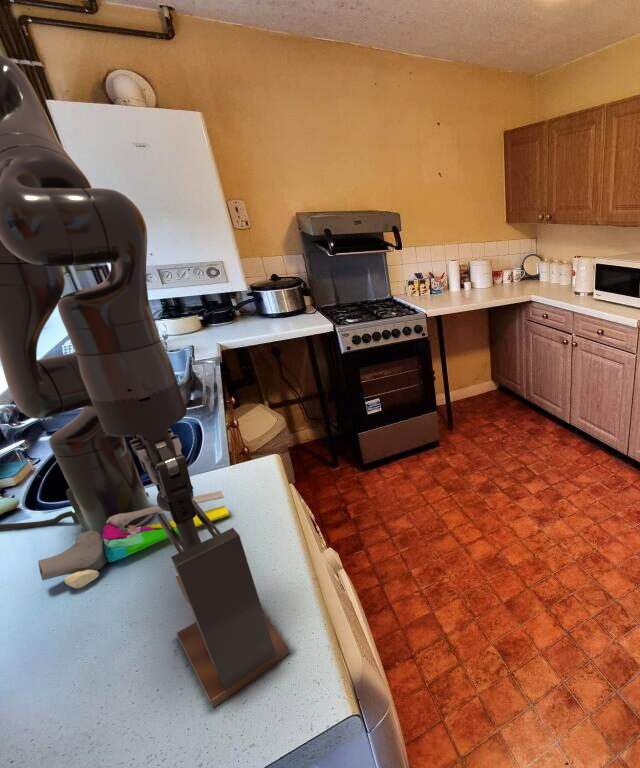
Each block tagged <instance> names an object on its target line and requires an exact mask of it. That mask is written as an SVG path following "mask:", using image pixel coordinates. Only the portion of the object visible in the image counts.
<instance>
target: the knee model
mask: <svg viewBox="0 0 640 768" xmlns="http://www.w3.org/2000/svg"><path fill="white" fill-rule="evenodd" d="M224 498H225V496H224V494H223V492H222V490H219V491H213V492H209V493H204V494H198V495H193V499H192V500H194V501H195V502H196V503H197V504H202V503H206V502H210V501H211V502H212V501H216V500H222V499H224ZM225 499H226V498H225ZM164 511H165V510H163V509H161V508H160V507H159V506H158V505H155V506H152V507H150V508H146V509H143V510H139V511H135V512H130V513H122V514H117V515H114V516H111V517H110V518H109V519H108V520H107V523H108V524H107V525H106V526H105V527H104V531H102V532H104V533H103V537H102V535H101V534H100V533H99V532H96V531H87V532H84V531H83V532H81V533H79V535H78V536H77V537H76V539H75V541H74V543H73V544H72V545H71V546H70V547H68V548H67V549H65V550H64V551H61V552H60V553H59V554H55V555H53V556H50V557H47V558H43V559H39V560H37V562H38V569H39V574H40V578H41V580H42V581H47V580H50V579H54V578H58V577H62V576H66V575H68V576H67V577H65V578H64V579H63V581H64V583H65V584H66V585H67V586H69V587H72V588H74V589H81V588H84V587H86V586H87V585H88V584H90V583H91V582H93V581H95V580H96V579H97V578H98V577H99V576H100V572H99V570H100V569H102V568H103V567H104V566H105V565H106V564H107V563H108V562H109V563H113V562H117V561H119V560H121V559H123V558H126V557H128V556H130V555H133V554H134V553H137V552H139V551H142V550H144V549H147V548H148V547H150V546H152V545H155V544H156V543H159V542H162V541H164V540H166V539H169V537H168V535H167V534H166V532H165V530H164V529H163V527H162V526H161V524H160V522H159V523H152V524H148V525H143V526H140V527H135V525H134V526H128V527H129V528H124V526H125V525H126V524H128V523H129V522H130V521H132V520H134V519H136V518H139V517H141V516H145V515H148V514H151V513H154V514H155V513H161V512H164ZM165 512H166V511H165ZM203 512H204V513H205V514H206V515H207V517H208V518H209V519H210V520H211V522H212V523H213V522H215V521H218V520H220V519H221V520H222V519H224V518H227V517H229V516H230V511H229V510H228V509H227V508H226V506H225V505H222V506H218V507H214V508H210V509H208V510H203ZM193 520H194V523H195V526H196V528H198V527H201V526H204V525H203V523H202V522H201V521H200V519H199V518H198V517H197V515H196V516H195V517H194V518H193ZM168 521H169V522H170V524H171V525H172V527H173V528H174V530H175V531H176V533H177V535H179V532H178V530H177V527H176V524H175V522H174V521H173V519H172V520H168ZM109 524H112V525H109Z"/></svg>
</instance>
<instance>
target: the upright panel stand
mask: <svg viewBox="0 0 640 768" xmlns="http://www.w3.org/2000/svg"><path fill="white" fill-rule="evenodd" d="M192 503H193V506H194V509H195V512H196V515H197V517H198V518H199V519H200V521H201V522H202V523H203V525H202V526H204V527H205V529H206V530H207V531H208V533H209V534H210V535H211V537H210V538H208V539H206V540H204V541H201V543H199V544H197V545H195V546H193V547H191V548H189V549H187V548H186V547H185V545H184V544H183V542H182V540H181V538H180V535H179V534H177V533H176V531H175V530H174V528H173V527H172V525H171V524H170V522H169V521H170V520H169V519H168V518H167V516H166V515H165V513H163V512H157V514H156V515H155V517H156V519H157V521H158V522H159V523H160V524H161V526H162V527H163V529H164V530H165V532H166V534H167V535H168V539H169V540H170V542H171V543H172V545H173V547H174V548H175V550H176V551H177V553H176V554H174V555H172V556H171V557H170V559H171V561H172V564H173V566H174V569H175V571H176V573H177V575H178V577H179V579H180V582H181V584H182V587H183V590H184V592H185V595H186V597H187V600H188V602H189V605H190V606H189V605H188V606H189V608H190V610H191V612H192V616H193V618H194V620H195V622H193V623H191V624H190V625H188V626H187V627H185V628H183V629H180V630H179V631H178V632H176V635H177V638H178V640H179V642H180V644H181V646H182V648H183V650H184V652H185V654H186V656H187V658H188V660H189V662H190V664H191V666H192V668H193V670H194V673H195V674H196V676H197V678H198V680H199V682H200V684H201V686H202V689H203V690H204V692H205V694H206V696H207V699H208V701H209V702H210V704H211V707H212V708H215V707H217V706H218V705H219V704H221V703H222V702H224V701H225V700H227V699H229V698H230V697H231V696H232V695H234V694H235V693H237V692H238V691H239V690H240V689H241V690H242V688H244V687H245V686H246V685H248V684H249V683H250V682H252V681H254V680H255V679H256V678H258V677H259V676H260V675H262V674H263V673H264V672H266V671H267V670H268V669H270V668H271V667H273V666H274V665H276V664H277V663H278V662H280V661H281V660H283V659H284V658H286V657H287V656H288V655H289V654H291V652H290V648H289V646H288V644H287V643H286V642H285V640H284V639H283V638H282V637H281V635H280V634H279V632H278V631H277V630H276V628H275V627H274V626H273V624H272V623H271V622H270V620H269V619H268V618H267V616H266V615H265V614H264V609H263V607H262V603H261V601H260V600H261V599H260V598H259V594H258V591H257V588H256V584H255V581H254V578H253V575H252V571H251V568H250V566H249V561H248V559H247V555H246V552H245V550H244V546H243V543H242V539H241V536H240V534H239V533H238V532H237V531H236V530H235V528H234V527H231V528H229V529H227V530H225V531H223V532H220V530H219V529H218V528H217V526H216V525H215V524H214V523H213V521H212V522H211V520H210V519H209V518H208V517H207V515H206V514H205V513H204V510H203V509H202V508H201V507H200V505H199V503H196V502H195V501H194V500H192Z"/></svg>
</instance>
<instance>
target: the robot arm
mask: <svg viewBox="0 0 640 768" xmlns="http://www.w3.org/2000/svg"><path fill="white" fill-rule="evenodd" d="M147 259H148V229H147V224H146V221H145V218H144V216H143V214H142V212H141V210H140V209H139V208H138V207H137V205H136V204H135V203H134V202H133V201H132V200H131V199H130V198H128V196H126V195H125V194H123V193H122V192H120V191H117V190H114V189H111V188H100V187H99V188H98V187H92V185H91V183H90V181H89V179H88V178H87V176H86V175H85V173H84V172H83V171H82V170H81V168H80V167H79V166H78V165H77V163H76V162H75V161H74V160H73V158H71V156H70V155H69V154H68V153H67V152H66V150H65V149H64V148H63V146H62V145H61V143H60V142H59V140H58V137H57V135H56V133H55V131H54V127H53V125H52V124H51V122H50V120H49V117H48V115H47V113H46V111H45V109H44V107H43V104H42V103H41V101H40V99H39V97H38V94H37V93H36V91H35V89H34V87H33V85H32V84H31V81H30V80H29V79H28V77H27V76H26V74H25V73H24V71H23V70H22V69H21V68H20V67H19V66H18V65H17V63H15V62H14V61H13V60H12V59H10V58H9V57H8V56H6V55H3V54H1V53H0V364H1V367H2V371H3V374H4V375H3V376H4V378H5V381H6V384H7V388H8V390H9V393H10V396H11V398H12V400H13V403H14V404H15V405H16V407H17V409H18V410H19V411H20V412H21V413H23V414H24V415H25V416H26V417H28V418H30V419H36V420H37V419H38V420H39V419H47V418H50V417H53V416H54V417H55V416H58V415H61V414H65V413H68V412H72V411H75V410H79V409H81V411H80V412H79V414H78V415H77V416H76V417H74V419H72V420H71V421H70V422H68V423H67V424H65V425H64V426H62V427H60V429H58V430H56V431H55V432H54V433H52V434H51V436H50V437H49V439H48V444H49V447H50V449H51V451H52V453H53V456H54V457H55V459H56V461H57V465H58V466H59V469H60V470H61V472H62V474H63V476H64V479H65V480H66V483H67V485H68V487H69V488H68V489H67V490H65V495H66V497H67V499H68V501H69V503H70V505H71V507H72V510H69V511H66V512H62V513H60V514H58V515H57V516H55V517H53V518H50V519H45V520H39V521H30V522H29V521H28V522H12V523H0V530H13V529H15V530H16V529H29V528H39V527H40V528H41V527H45V526H50V525H56V524H58V523H59V522H61V521H62V520H65V519H67V518H72V520H73V522H74V525H80V527H81V528H82V531H83V533H84V532H87V531H96V532H99V533H100V534H101V535H102V537H103V533H104V532H102V531H104V527H105V526H106V525H107V524H108V523H107V520H108V519H109V518H110V517H111V516H114V515H117V514H122V513H130V512H135V511H139V510H143V509H146V508H150V507H153V506H152V505H151V502H150V495H149V492H147V491H146V489H145V486H144V483H143V481H142V478H141V476H140V473H139V470H138V468H137V466H136V463H135V460H134V457H133V455H132V453H131V450H130V447H129V446H128V445H129V444H130V446H131V449H132V451H133V453H134V454H135V456H137V458H138V461H139V464H140V466H141V468H142V469H143V471H144V472H145V473H146V474H147V475H148V477H149V480H150V481H151V483H153V484H154V485H155V487H156V489H157V493H158V492H159V491H160V490H161V492H162V494H161V495H162V498H164V499H165V500H166V502H167V505H168V508H169V510H170V512H169V513H170V516H171V518H172V520H173V521H174V522H175V523H176V524H181V523H183V522H186V521H188V520H190V519H192V518H194V517H195V516H196V512H195V509H194V506H193V503H192V500H191V497H190V494H189V493H192V492H193V493H194V486H193V485H192V482H191V481H192V480H191V476H190V473H189V469H188V464H187V457H186V456H184V454H183V453H182V447H183V446H182V443H181V440H180V438H179V436H178V435H177V434H174V432H173V430H172V429H171V428H170V427H171V426H172V425H174V424H178V423H179V422H180V421H181V420H183V419H184V417H185V416H186V415H187V407H186V404H185V401H184V398H183V395H182V392H181V388H180V386H179V382H178V379H177V376H176V373H175V370H174V367H173V364H172V361H171V359H170V356H169V354H168V352H167V350H166V348H165V347H164V344H163V342H162V340H161V336H160V333H159V330H158V327H157V324H156V321H155V318H154V316H153V312H152V308H151V304H150V301H149V292H148V281H147ZM102 264H110V270H109V273H108V276H107V277H106V278H105V280H104V281H102V282H101V283H98V284H96V285H92V286H89V287H87V288H84V289H83V288H82V289H79V290H75V291H73V292H70V293H67V294H65V295H63V294H64V291H65V289H66V278H65V274H64V269H63V267H64V268H65V267H75V266H87V265H88V266H89V265H102ZM56 309H58V313H59V317H60V320H61V322H62V324H63V326H64V328H65V330H66V332H67V335H68V338H69V340H70V343H71V346H72V348H73V350H74V352H70V353H64V354H60V355H55V356H51V357H46V358H40V359H37V357H38V356H37V355H38V353H37V352H38V344H39V340H40V337H41V335H42V332H43V330H44V328H45V326H46V325H47V323H48V321H49V319H50V318H51V316H52V315H53V314H54V312H55V310H56ZM129 437H131V438H132V440H129V444H128V442H127V439H126V438H129ZM180 483H181V484H180ZM154 485H153V486H154ZM175 485H176V486H175ZM154 514H155V513H151V514H148V515H145V516H141V517H139V518H136V519H134V520H132V521H130V522H129V523H128V524H126V525H125V526H124V528H129V527H128V526H134V525H135V527H140V526H141V527H143V526H145V524H147V523H148V522H149V521H150V520H152V518H153V517H154ZM109 525H112V524H109Z"/></svg>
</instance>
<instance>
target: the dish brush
mask: <svg viewBox="0 0 640 768" xmlns="http://www.w3.org/2000/svg"><path fill="white" fill-rule="evenodd" d="M180 484H181V483H180ZM175 486H176V485H175ZM161 494H162V492H161V490H160V491H159V492H158V491H157V494H156V503H157V506H159V507H160V508H161V509H163V510H165V512H168V513H170V510H169V508H168V505H167V502H166V500H165V499H164V498H162V495H161ZM189 494H190V497H191V500H192V499H193V497H194V491H193V492H192V493H189ZM175 524H176V523H175ZM176 527H177V530H178V532H179V534H178V536H179V538H180V539H181V541H182V542H183V544H184V545H185V547H186V548H187V549H189V548H191V547H193V546H195V545H197V544H199V543H202V540H201V538H200V535H199V531H198V527H196V526H195V523H194V520H193V518H192V519H190V520H188V521H186V522H183V523H181V524H176ZM175 579H176V581H177V584H178V587H179V590H180V592H181V595H182V596H183V597H184V599H185V601H186V603H187V605H188V607H190V605H189V602H188V600H187V597H186V595H185V592H184V590H183V587H182V584H181V582H180V579H179V577H178V574H177V575H175Z"/></svg>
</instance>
